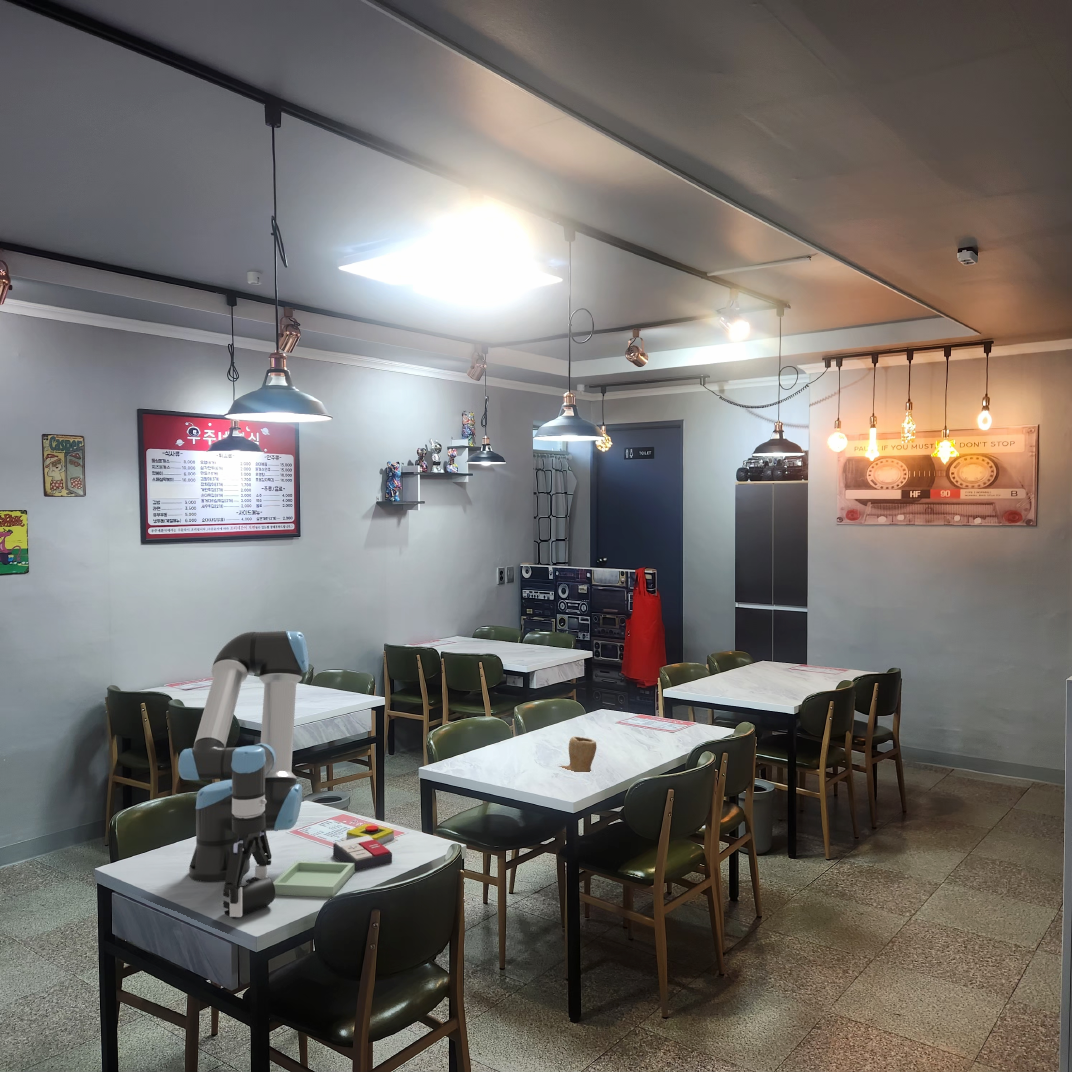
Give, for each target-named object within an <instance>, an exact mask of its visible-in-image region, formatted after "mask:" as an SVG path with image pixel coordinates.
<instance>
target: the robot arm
mask: <svg viewBox="0 0 1072 1072" xmlns="http://www.w3.org/2000/svg"><path fill="white" fill-rule="evenodd" d="M308 651H309V650H308V645H307V640H306V637H305V636H304V634H303V632H301V631H289V630H286V631H285V630H284V631H283V630H282V631H281V630H280V631H279V630H277V631H249V632H244V633H241V634H239V635H237V636H236V637H233V638H232V639H230V641H228V642H227V643H226V644H225V645H224V646H223V647H222V648H221V649H220V651H219V652H218V653H217V655H216V656H215V658H214V661H213V663H212V666H211V667H212V668H211V675H212V681H211V685H210V688H209V692H208V695H207V698H206V702H205V704H204V710H203V712H202V715H201V718H200V719H201V720H200V723H199V726H198V729H197V733H196V736H195V740H194V743H193V746H192V747H191V748H190V747H189V748H185V749H183V750H182V751H181V752H180V754H179V759H178V764H177V765H178V766H177V767H178V768H177V769H178V774H179V777H180V778H181V779H183V780H187V781H188V780H189V781H202V780H204V781H205V780H221V781H216V782H213V783H211V784H208V785H206V786H204V787H202V788H200V789H199V790H198V791H197V794H196V804H195V820H196V821H195V823H196V824H195V827H196V828H195V829H196V830H195V832H196V833H195V835H196V836H195V837H196V838H195V839H196V844H195V848H194V851H193V854H192V858H191V860H190V864H189V867H188V869H189V870H188V871H189V872H188V873H189V875H188V876H189V878H190V879H191V880H193V881H196V882H202V883H216V882H224V885H223V890H224V889H230V899H229V903H230V917H229V918H231V917H237V918H241V917H243V915H242V887H240V886H242V882H243V878H244V875H245V874H247V873H248V872H249V870H250V868H251V867H250V865H251V863H250V861H251V860H250V859H251V856H252V857H253V859H254V860H255V862H256V864H257V865H255V866H254V877H257V878H259V879H264V878H267V877H268V866H271V865H272V860H271V859H272V852H271V848H270V844H269V843H270V842H269V839H268V836H267V832H278V831H287V830H291V829H292V828H293V827H295V825H296V823H297V821H298V819H299V816H300V812H301V806H302V801H303V786H302V785H301V784H299V783H297V776H296V775H295V774H294V773H293V772H292V767H293V766H292V765H293V763H292V762H293V748H294V746H293V745H294V731H295V730H294V729H295V728H294V726H295V711H296V694H297V685H298V683H300V682H301V681H302V679H303V673H307V672H308V671H309V666H310V662H309V661H310V660H309V653H308ZM249 674H259V676H258V677H259V681H261V682H262V683H263V685H264V688H263V702H262V715H261V716H262V717H261V719H262V720H261V732H260V743H257V744H253V745H245V746H240V747H227V742H228V737H229V734H230V730H231V727H232V721H233V718H234V715H235V710H236V706H237V703H238V698H239V695H240V691H241V686H242V683H243V682H245V681H246V680H247V678H248V675H249Z"/></svg>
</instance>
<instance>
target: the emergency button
mask: <svg viewBox="0 0 1072 1072" xmlns="http://www.w3.org/2000/svg"><path fill="white" fill-rule="evenodd" d="M363 836H370V837H371V838H372V839H374V840H376V841H377V842H379V843H380V844H381V845H383V846H384V847H386V846H389V845H390V844H392V843H395V842H397V841H398V840H399V839H398V838H396V837H395V831H394V829H393V828H392V829H391V828H387V827H383V826H378V825H374V824H369V823H365V824H362V825H360V826H357V827H355V828H352V829H350V830H347V832H346V836H345V837H342V838H341V839H340V840H341V841H345V840H349V839H354V838H359V837H363Z"/></svg>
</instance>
